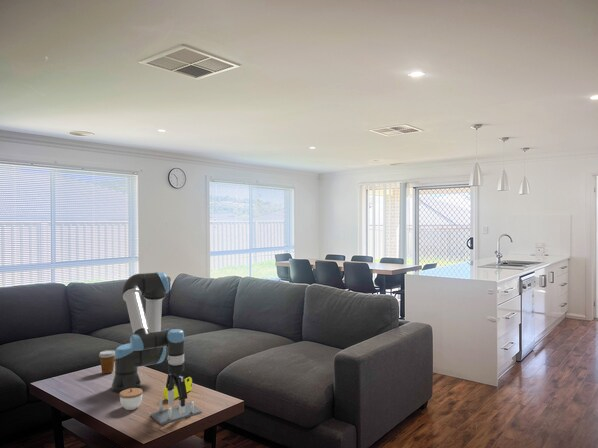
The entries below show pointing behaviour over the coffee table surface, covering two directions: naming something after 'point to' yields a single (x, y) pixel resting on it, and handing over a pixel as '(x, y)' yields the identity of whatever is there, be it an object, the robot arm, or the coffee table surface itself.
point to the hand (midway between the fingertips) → (176, 408)
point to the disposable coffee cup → (107, 360)
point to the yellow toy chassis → (188, 387)
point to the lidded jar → (131, 398)
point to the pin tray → (174, 413)
